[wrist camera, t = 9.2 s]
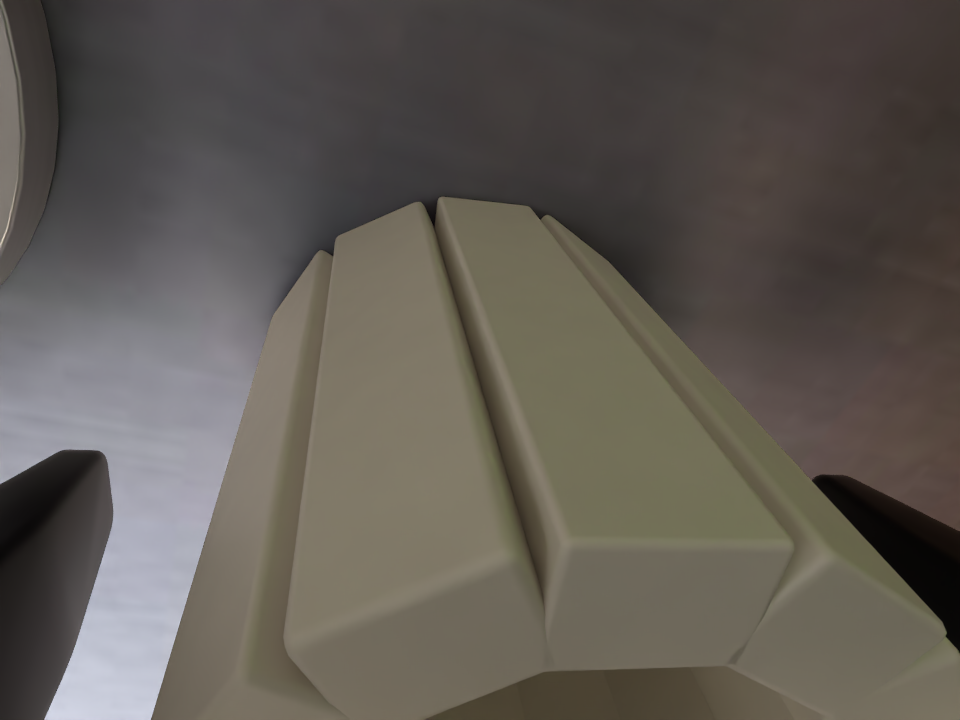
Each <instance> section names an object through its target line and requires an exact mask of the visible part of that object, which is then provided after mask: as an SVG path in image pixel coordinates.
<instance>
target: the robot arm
mask: <svg viewBox="0 0 960 720" xmlns="http://www.w3.org/2000/svg"><path fill="white" fill-rule="evenodd" d="M812 482H813V483H814V484H815V485H816V486H817V487H818V488H819V489H820V490H821V492H822V493H823V494H824V495H825V496H826V497H827V498H828V499H829V500H830V501H831V502H832V503H833V505H834V506H835V507H836V508H837V509H838V510H839V511H840V512H841V513H842V514H843V515H844V516H845V517H846V519H847V520H848V521H849V522H850V523H851V524H852V525H853V526H854V527H855V528H856V529H857V530H858V532H859V533H860V534H861V535H862V536H863V537H864V538H865V539H866V540H867V541H868V542H869V543H870V544H871V546H872V547H873V548H874V549H875V550H876V551H877V552H878V553H879V554H880V555H881V556H882V557H883V559H884V560H885V561H886V562H887V563H888V564H889V565H890V566H891V567H892V568H893V569H894V570H895V571H896V573H897V574H898V575H899V576H900V577H901V578H902V579H903V580H904V581H905V582H906V583H907V584H908V586H909V587H910V588H911V589H912V590H913V591H914V592H915V593H916V594H917V595H918V596H919V597H920V598H921V600H922V601H923V602H924V603H925V604H926V605H927V606H928V607H929V608H930V609H931V610H932V611H933V613H934V614H935V615H936V616H937V617H938V618H939V619H940V620H941V621H942V622H943V625H944V627H945V630H946V632H947V634H946V638H947V639H948V640H949V641H950V642H951V643H952V644H953V645H954V646H955V647H956V649H957V650H958V651H959V653H960V532H959V531H957V530H955V529H953V528H951V527H949V526H947V525H945V524H943V523H941V522H939V521H937V520H935V519H933V518H931V517H929V516H927V515H925V514H923V513H921V512H919V511H917V510H915V509H913V508H911V507H909V506H907V505H905V504H903V503H901V502H899V501H897V500H895V499H893V498H891V497H889V496H887V495H885V494H883V493H881V492H879V491H877V490H875V489H873V488H871V487H869V486H867V485H865V484H863V483H861V482H859V481H857V480H855V479H853V478H851V477H848V476H844V475H819V476H816V477H815V478H814V479H813V480H812ZM112 521H113V503H112V495H111V487H110V479H109V471H108V463H107V459H106V457H105V455H104V454H103V453H102V452H100V451H94V450H62V451H60V452H58V453H55V454H54V455H52V456H50V457H48V458H47V459H45V460H43V461H41V462H39V463H38V464H36V465H34V466H32V467H31V468H29V469H27V470H25V471H23V472H22V473H20V474H18V475H16V476H15V477H13V478H11V479H9V480H7V481H6V482H4V483H2V484H0V720H44V718H45V716H46V714H47V712H48V709H49V707H50V705H51V703H52V700H53V698H54V696H55V694H56V691H57V689H58V687H59V685H60V682H61V680H62V678H63V675H64V673H65V670H66V668H67V666H68V663H69V661H70V658H71V656H72V653H73V650H74V647H75V644H76V641H77V638H78V635H79V632H80V629H81V625H82V622H83V619H84V616H85V612H86V609H87V606H88V603H89V599H90V596H91V593H92V590H93V586H94V583H95V580H96V577H97V573H98V570H99V567H100V564H101V560H102V557H103V554H104V551H105V547H106V544H107V541H108V538H109V534H110V531H111V527H112Z"/></svg>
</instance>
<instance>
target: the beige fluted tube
mask: <svg viewBox="0 0 960 720" xmlns="http://www.w3.org/2000/svg"><path fill="white" fill-rule="evenodd" d="M946 634H947V632H946V630H945V627H944V625H943V622H942V621H941V620H940V619H939V618H938V617H937V616H936V615H935V614H934V613H933V611H932V610H931V609H930V608H929V607H928V606H927V605H926V604H925V603H924V602H923V601H922V600H921V598H920V597H919V596H918V595H917V594H916V593H915V592H914V591H913V590H912V589H911V588H910V587H909V586H908V584H907V583H906V582H905V581H904V580H903V579H902V578H901V577H900V576H899V575H898V574H897V573H896V571H895V570H894V569H893V568H892V567H891V566H890V565H889V564H888V563H887V562H886V561H885V560H884V559H883V557H882V556H881V555H880V554H879V553H878V552H877V551H876V550H875V549H874V548H873V547H872V546H871V544H870V543H869V542H868V541H867V540H866V539H865V538H864V537H863V536H862V535H861V534H860V533H859V532H858V530H857V529H856V528H855V527H854V526H853V525H852V524H851V523H850V522H849V521H848V520H847V519H846V517H845V516H844V515H843V514H842V513H841V512H840V511H839V510H838V509H837V508H836V507H835V506H834V505H833V503H832V502H831V501H830V500H829V499H828V498H827V497H826V496H825V495H824V494H823V493H822V492H821V490H820V489H819V488H818V487H817V486H816V485H815V484H814V483H813V482H812V481H811V480H810V479H809V478H808V476H807V475H806V474H805V473H804V472H803V471H802V470H801V469H800V468H799V467H798V466H797V465H796V463H795V462H794V461H793V460H792V459H791V458H790V457H789V456H788V455H787V454H786V453H785V452H784V450H783V449H782V448H781V447H780V446H779V445H778V444H777V443H776V442H775V441H774V440H773V439H772V438H771V436H770V435H769V434H768V433H767V432H766V431H765V430H764V429H763V428H762V427H761V426H760V425H759V423H758V422H757V421H756V420H755V419H754V418H753V417H752V416H751V415H750V414H749V413H748V412H747V411H746V409H745V408H744V407H743V406H742V405H741V404H740V403H739V402H738V401H737V400H736V399H735V398H734V396H733V395H732V394H731V393H730V392H729V391H728V390H727V389H726V388H725V387H724V386H723V385H722V384H721V382H720V381H719V380H718V379H717V378H716V377H715V376H714V375H713V374H712V373H711V372H710V371H709V369H708V368H707V367H706V366H705V365H704V364H703V363H702V362H701V361H700V360H699V359H698V358H697V357H696V355H695V354H694V353H693V352H692V351H691V350H690V349H689V348H688V347H687V346H686V345H685V344H684V342H683V341H682V340H681V339H680V338H679V337H678V336H677V335H676V334H675V333H674V332H673V331H672V330H671V328H670V327H669V326H668V325H667V324H666V323H665V322H664V321H663V320H662V319H661V318H660V317H659V315H658V314H657V313H656V312H655V311H654V310H653V309H652V308H651V307H650V306H649V305H648V304H647V303H646V301H645V300H644V299H643V298H642V297H641V296H640V295H639V294H638V293H637V292H636V291H635V290H634V288H633V287H632V286H631V285H630V284H629V283H628V282H627V281H626V280H625V279H624V278H623V277H622V276H621V274H620V273H619V272H618V271H617V270H616V269H615V268H614V267H613V266H612V265H611V264H610V263H609V261H607V260H606V259H605V258H603V257H602V256H601V255H600V254H598V253H597V252H596V251H595V250H593V249H592V248H591V247H589V246H588V245H587V244H586V243H584V242H583V241H582V240H581V239H579V238H578V237H577V236H576V235H574V234H573V233H572V232H570V231H569V230H568V229H567V228H565V227H564V226H563V225H562V224H560V223H559V222H558V221H557V220H555V219H554V218H553V217H551V216H549V215H545V216H544V217H543V218H542V219H541V220H540V219H539V218H538V217H537V215H536V214H535V213H534V212H533V210H532V209H531V208H530V207H529V206H523V205H514V204H505V203H496V202H487V201H478V200H469V199H460V198H451V197H439V199H438V202H437V210H436V219H435V227H434V226H433V224H432V222H431V220H430V217H429V215H428V213H427V211H426V208H425V206H424V205H423V204H422V203H421V202H414V203H412V204H410V205H407V206H405V207H403V208H401V209H398V210H396V211H394V212H391V213H389V214H387V215H385V216H382V217H380V218H378V219H375V220H373V221H371V222H369V223H366V224H364V225H362V226H360V227H357V228H355V229H353V230H350V231H348V232H346V233H344V234H341V235H339V236H338V237H337V238H336V240H335V247H334V255H333V256H332V255H330V254H328V253H327V252H325V251H323V250H320V251H318V252H317V253H316V255H315V256H314V258H313V259H312V260H311V262H310V263H309V265H308V266H307V268H306V269H305V270H304V272H303V273H302V275H301V276H300V278H299V279H298V280H297V282H296V283H295V285H294V286H293V288H292V289H291V290H290V292H289V293H288V295H287V296H286V298H285V299H284V300H283V302H282V303H281V305H280V306H279V308H278V309H277V310H276V312H275V313H274V315H273V316H272V319H271V322H270V326H269V329H268V332H267V336H266V339H265V342H264V345H263V349H262V352H261V355H260V359H259V362H258V365H257V369H256V372H255V375H254V379H253V382H252V385H251V389H250V392H249V395H248V399H247V402H246V405H245V409H244V412H243V415H242V419H241V422H240V425H239V429H238V432H237V435H236V439H235V442H234V445H233V449H232V452H231V455H230V459H229V462H228V465H227V469H226V472H225V475H224V479H223V482H222V485H221V489H220V492H219V495H218V499H217V502H216V505H215V508H214V512H213V515H212V518H211V522H210V525H209V528H208V532H207V535H206V538H205V542H204V545H203V548H202V552H201V555H200V558H199V562H198V565H197V568H196V572H195V575H194V578H193V582H192V585H191V588H190V592H189V595H188V598H187V602H186V605H185V608H184V612H183V615H182V618H181V622H180V625H179V628H178V632H177V635H176V638H175V642H174V645H173V648H172V652H171V655H170V658H169V662H168V665H167V668H166V672H165V675H164V678H163V682H162V685H161V688H160V692H159V695H158V698H157V702H156V705H155V708H154V712H153V715H152V718H151V720H960V653H959V651H958V650H957V649H956V647H955V646H954V645H953V644H952V643H951V642H950V641H949V640H948V639H947V638H946Z"/></svg>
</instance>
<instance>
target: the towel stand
mask: <svg viewBox="0 0 960 720" xmlns="http://www.w3.org/2000/svg"><path fill="white" fill-rule="evenodd" d="M58 124H59V119H58V101H57V84H56V70H55V65H54V59H53V54H52V49H51V44H50V38H49V33H48V28H47V23H46V17H45V14H44V11H43V7H42V4H41V1H40V0H0V286H1V285H2V284H3V283H4V282H5V280H6V279H7V278H8V277H9V275H10V274H11V272H12V271H13V269H14V268H15V266H16V265H17V263H18V261H19V260H20V258H21V257H22V255H23V254H24V252H25V251H26V249H27V248H28V246H29V244H30V242H31V239H32V237H33V235H34V232H35V230H36V228H37V226H38V223H39V221H40V219H41V216H42V214H43V212H44V209H45V205H46V201H47V197H48V193H49V189H50V185H51V181H52V177H53V173H54V169H55V159H56V147H57V136H58Z"/></svg>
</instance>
